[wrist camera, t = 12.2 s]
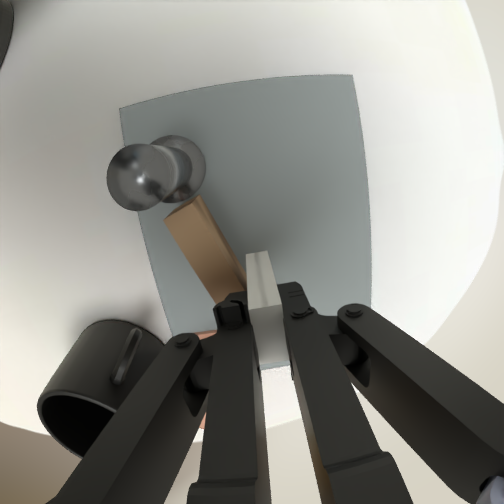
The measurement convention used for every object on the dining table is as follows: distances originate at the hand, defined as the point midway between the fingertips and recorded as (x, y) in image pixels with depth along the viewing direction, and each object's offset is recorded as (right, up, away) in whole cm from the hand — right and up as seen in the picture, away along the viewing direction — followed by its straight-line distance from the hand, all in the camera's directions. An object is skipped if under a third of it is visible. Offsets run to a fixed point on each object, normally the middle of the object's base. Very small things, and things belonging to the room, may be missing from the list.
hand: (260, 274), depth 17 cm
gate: (-2, 0, +2) cm, 3 cm away
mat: (0, +2, +3) cm, 4 cm away
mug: (-11, -7, +6) cm, 14 cm away
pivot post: (-6, +7, +1) cm, 9 cm away
